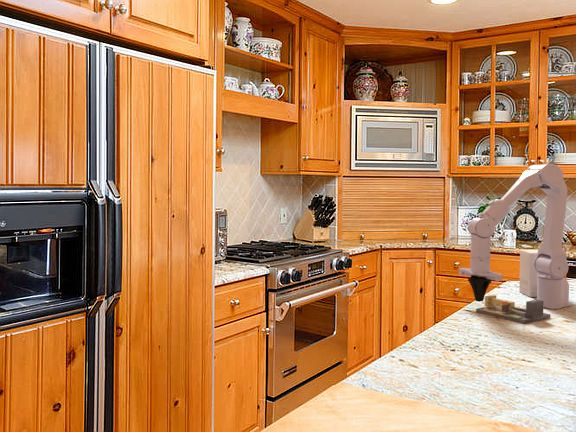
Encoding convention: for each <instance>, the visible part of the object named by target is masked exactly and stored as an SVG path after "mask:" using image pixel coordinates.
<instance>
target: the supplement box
mask: <svg viewBox="0 0 576 432" xmlns="http://www.w3.org/2000/svg"><path fill="white" fill-rule="evenodd" d="M538 250H539V249H520V252H519V291H518V292H519V293H521V294H523V295H525V296H527V297H528V298H537V281H538V275H537V271H536V270H535V268H534V260H535V258H536V257H537V253H538Z"/></svg>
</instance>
